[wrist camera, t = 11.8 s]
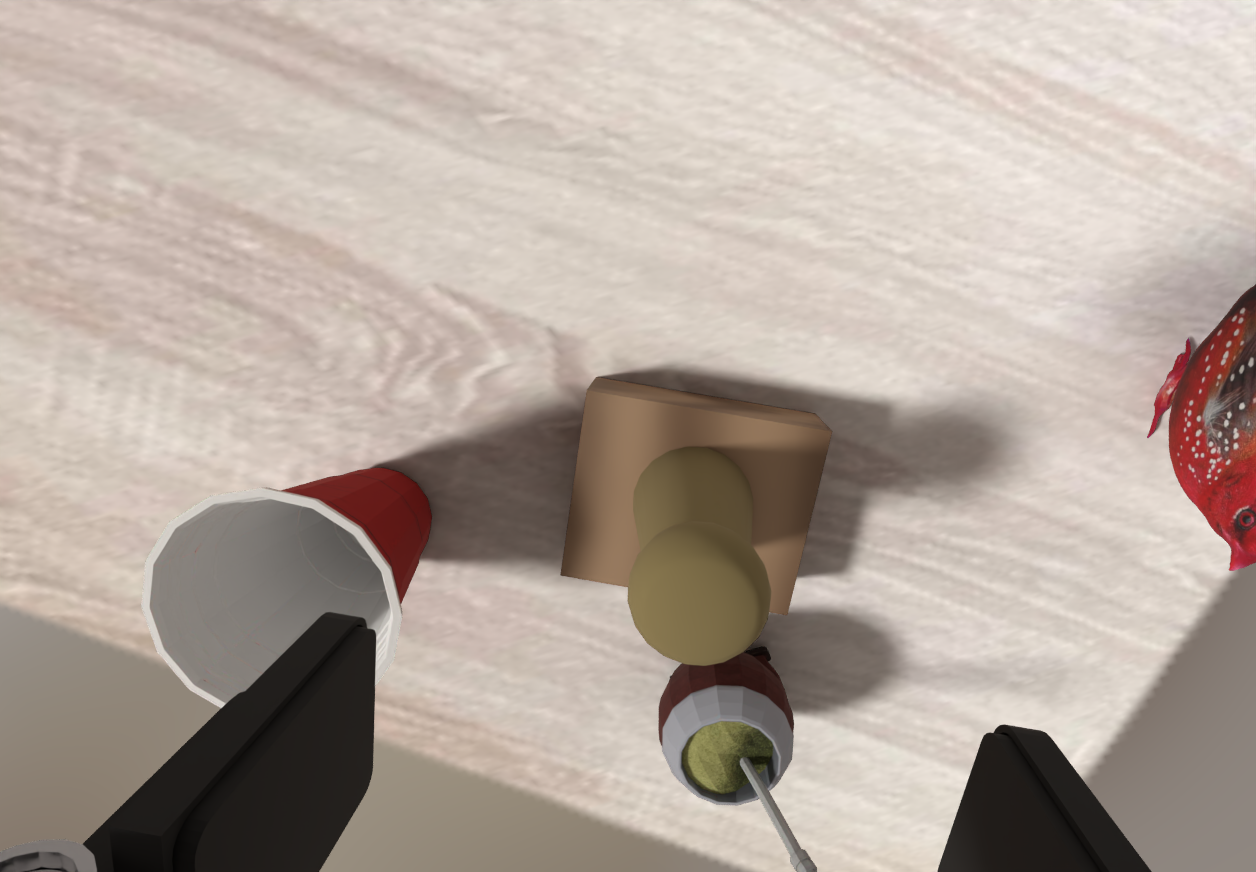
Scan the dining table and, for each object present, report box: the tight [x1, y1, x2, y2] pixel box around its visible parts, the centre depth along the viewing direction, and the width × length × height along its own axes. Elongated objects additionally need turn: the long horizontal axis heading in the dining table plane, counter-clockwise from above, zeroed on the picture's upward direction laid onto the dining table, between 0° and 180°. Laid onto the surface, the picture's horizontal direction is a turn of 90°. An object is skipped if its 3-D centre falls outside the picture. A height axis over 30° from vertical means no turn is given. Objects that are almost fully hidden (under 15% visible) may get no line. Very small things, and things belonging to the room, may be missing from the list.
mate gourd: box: [659, 646, 817, 872], centre depth 32 cm, size 8×8×15 cm
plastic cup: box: [141, 468, 432, 708], centre depth 33 cm, size 11×11×12 cm
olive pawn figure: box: [628, 446, 772, 666], centre depth 28 cm, size 6×6×11 cm
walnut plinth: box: [561, 377, 832, 615], centre depth 35 cm, size 12×10×4 cm
